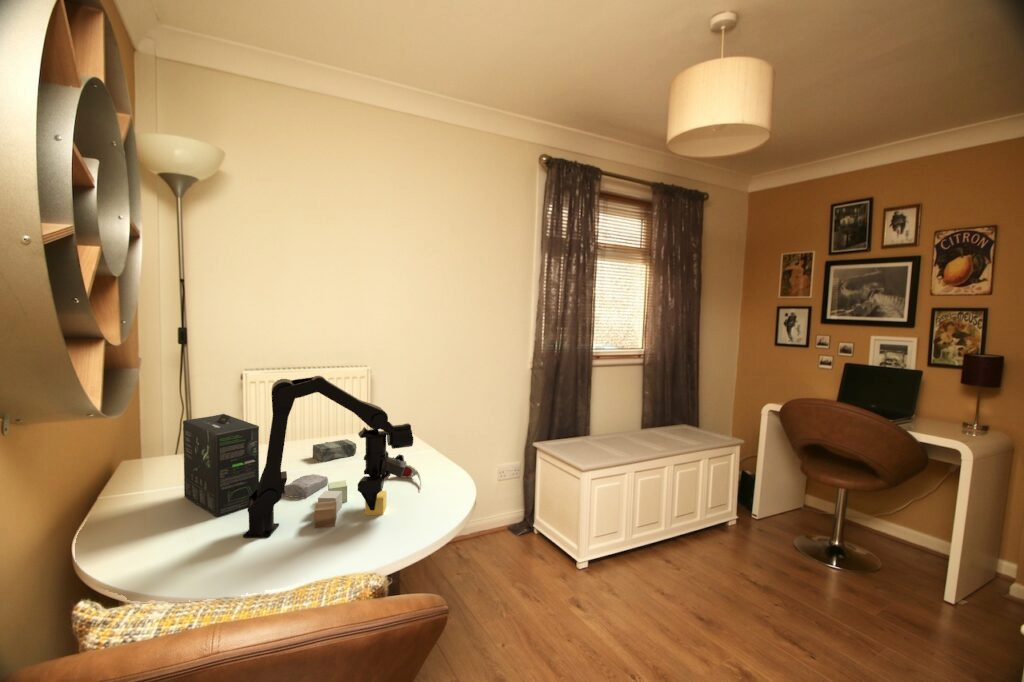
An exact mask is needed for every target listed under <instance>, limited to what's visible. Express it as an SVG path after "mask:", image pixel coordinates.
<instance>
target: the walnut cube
mask: <svg viewBox="0 0 1024 682" xmlns="http://www.w3.org/2000/svg"><path fill="white" fill-rule="evenodd" d="M337 514H338V513H337V501H331V502H320V503H318V502H316V506H315V509H314V529H324V528H332V527H334V528H335V527H336V524H337V523H336V522H337Z"/></svg>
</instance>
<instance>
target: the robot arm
mask: <svg viewBox="0 0 1024 682" xmlns="http://www.w3.org/2000/svg"><path fill="white" fill-rule="evenodd" d="M317 393H319V394H321V395H322V396H324V397H326V398H328V400H331V401H333V403H336V404H338V405H339V406H341V407H343V408H345V409H346V410H348V411H350V412H352V413H353V414H354V415H356V416H357V417H358V419H360V420H361V421H363V422H364V423H365V424H366V425H367V426H368V427H369V428H370V429H367V428H366V427H365V426H364V427H362V429H361V430H360V431H359V432H358V433H357V435H358V436H359V438H360V439H365V454H364V456H363V461H365V468H364V470H363V475H365V476H362V478H361V479H360V480H359V482H358V483H357V492H359V493H360V494H361V495H362V497H363V499H364V502H365V501H366V503H367V505H368V506H369V508H370V510H375V505H376V500H377V494H378V493H379V492H381V491H383V488H384V484H385V480H386V479H387V478H386V477H387V476H388V475H389V473H390V475H393V476H396V477H397V478H403V477H402V474H403V472H404V469H405V466H406V464H407V461H406V460H405V456H404V455H403V454H400V453H399V454H398V455H396V456H392V457H390V456H389V452H388V451H387V446H390V447H391V449H393V450H394V449H402V448H411V447H413V445H414V436H413V429H412V425H411V424H410V423H409V422H407V423H403V424H396V425H393V424H392V422H390V421H389V420H388V419H389V416H388V414H387V412H386V411H385V410H384V409H382V407H380V406H378V405H376V404H373V403H370V402H367V401H364V400H361V399H359V398H357V397H355V396H354V395H352V394H351V393H349V392H347V391H345V390H344V389H342V388H341V387H339V386H337V385H335V384H334V383H332V382H330V381H329V380H327V379H325V377H324V376H322V375H315V376H311V377H304V378H297V379H296V378H295V379H293V380H291V379H287V378H280V379H278V380H276V381H275V382H274V383H273V384H272V387H271V406H272V407H271V409H272V416H271V417H272V418H271V425H270V426H271V427H270V431H269V439H268V444H267V445H268V447H267V452H266V453H267V454H266V461H265V465H264V468H263V470H262V474H261V475H260V477H259V484H258V489H257V490H256V491H255V492H254V493H253V494H252V495H251V496H250V497H249V501H248V508H247V512H248V530H246V532H244V534H243V535H242V538H244V539H245V538H269V537H270V536H271V535H272V534H273V533H274V532H275V531H276V530H277V528H278V527H279V526H280V523H278V522H275V516H274V515H275V511H274V510H275V509H274V508H275V505H276V504H278V503H279V502H280V501H281V500H282V497H283V495H284V494H285V485H287V480H288V475H287V471H286V470H284V471H282V463H283V455H284V449H285V448H284V447H285V443H286V440H285V439H286V435H287V426H288V420H289V415H290V414H291V411H292V408H293V405H294V402H295V400H296V399H300V398H303V397H306V396H309V395H312V394H317ZM407 465H408V464H407Z"/></svg>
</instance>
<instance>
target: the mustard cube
mask: <svg viewBox="0 0 1024 682" xmlns="http://www.w3.org/2000/svg"><path fill="white" fill-rule="evenodd" d="M364 503H365V504H364V505H365V507H364V509H365V510H364V511H365V513H364V515H365V516H367V515H368V516H370V515H371V516H372V515H373V516H374V515H378V516H379V515H384V513H385V511H386V509H387V490H382V491H381V492H379V493H378V494H377V500H376V505H375V510H370V508H369V506H368V505H367V503H366V501H365V500H364Z"/></svg>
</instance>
